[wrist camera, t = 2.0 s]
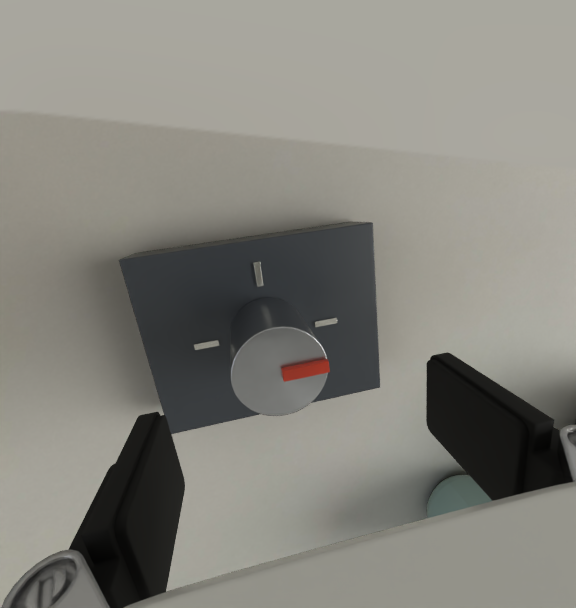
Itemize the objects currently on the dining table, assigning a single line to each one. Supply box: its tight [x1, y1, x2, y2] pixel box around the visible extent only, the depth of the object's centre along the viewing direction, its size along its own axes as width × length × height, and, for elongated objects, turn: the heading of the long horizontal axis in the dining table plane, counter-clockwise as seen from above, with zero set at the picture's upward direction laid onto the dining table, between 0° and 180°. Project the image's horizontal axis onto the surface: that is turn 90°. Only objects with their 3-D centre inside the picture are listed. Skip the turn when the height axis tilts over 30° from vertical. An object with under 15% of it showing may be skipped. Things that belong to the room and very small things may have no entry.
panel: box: [119, 222, 380, 434], centre depth 20 cm, size 14×11×3 cm
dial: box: [230, 298, 330, 416], centre depth 16 cm, size 4×4×5 cm
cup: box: [427, 475, 492, 518], centre depth 25 cm, size 8×8×10 cm
